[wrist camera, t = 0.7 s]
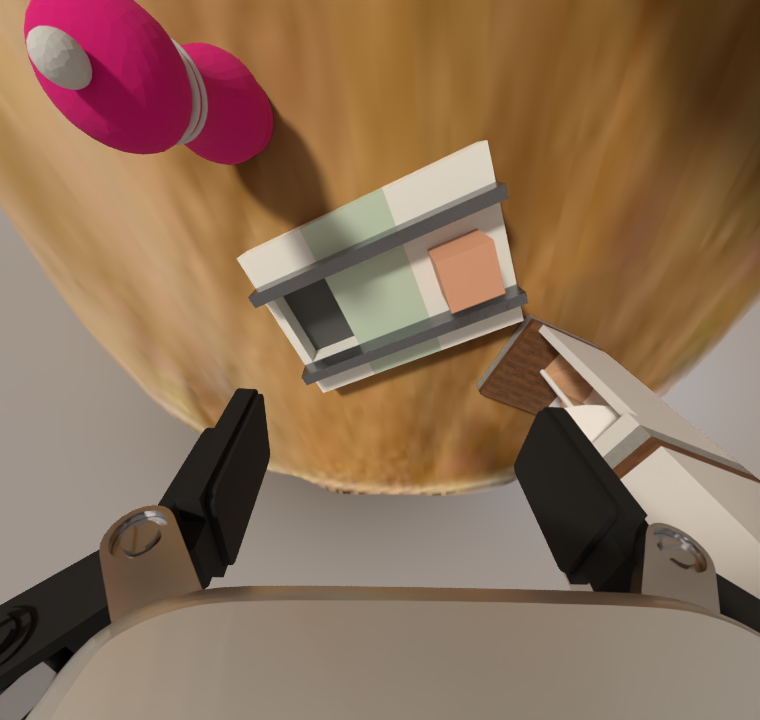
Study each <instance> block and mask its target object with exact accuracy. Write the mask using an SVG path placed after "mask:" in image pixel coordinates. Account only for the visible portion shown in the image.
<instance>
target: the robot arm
mask: <svg viewBox="0 0 760 720" xmlns="http://www.w3.org/2000/svg"><path fill="white" fill-rule="evenodd" d="M269 458H270V447H269V439H268V430H267V422H266V413H265V405H264V397H263V394H258V391H257V390H256V389H242V388H238V389H237V390H236V391H235V393H234V395H233V397H232V398H231V400H230V402H229V404H228V405H227V407H226V409H225V410H224V412H223V414H222V416H221V417H220V419H219V421H218V422H217V424H216V426H215V428H207V429H205V430H204V431H203V433H202V434H201V436H200V438H199V439H198V441H197V442H196V444H195V445H194V447H193V449H192V450H191V452H190V454H189V455H188V457H187V458H186V460H185V462H184V464H183V465H182V467H181V468H180V470H179V472H178V473H177V475H176V477H175V478H174V480H173V481H172V483H171V485H170V486H169V488H168V489H167V491H166V493H165V494H164V496H163V498H162V500H161V501H160V502H159V504H158V505H151V506H145V507H141V508H138V509H136V510H133V511H131V512H129V513H128V514H126V515H124V516H122V517H121V518H120V519H119V520H117V521H116V522H115V523H114V524H113V525H112V526H111V527H110V528H109V529H108V531H107V532H106V533H105V534H104V536H103V538H102V541H101V543H100V549H99V550H98V551H96V552H94V553H92V554H90V555H89V556H87V557H85V558H83V559H82V560H80V561H78V562H77V563H74V564H73V565H71V566H69V567H68V568H66V569H64V570H62V571H60V572H59V573H57V574H55V575H53V576H52V577H50V578H48V579H46V580H44V581H43V582H41V583H39V584H37V585H36V586H34V587H32V588H30V589H28V590H26V591H25V592H23V593H21V594H19V595H18V596H16V597H14V598H12V599H10V600H9V601H7V602H5V603H4V604H2V605H0V720H760V599H759V598H757V597H755V596H754V595H752V594H750V593H749V592H747V591H745V590H744V589H742V588H740V587H739V586H737V585H735V584H734V583H732V582H730V581H729V580H727V579H725V578H724V577H722V576H721V575H719V574H717V573H716V570H715V566H714V563H713V560H712V559H711V557H710V556H709V554H708V553H707V551H706V550H705V549H704V548H703V547H702V546H701V545H700V544H699V543H698V542H697V541H696V540H694V539H693V538H692V537H691V536H689V535H688V534H686V533H685V532H683V531H681V530H680V529H678V528H676V527H673V526H671V525H668V524H664V523H653V524H651V525H649V524H648V523H647V521H646V520H645V518H646V517H647V516H648V515H647V514H646V512H645V511H644V510H643V509H642V507H641V506H640V505H639V503H638V502H637V501H636V500H635V498H634V497H633V496H632V494H631V493H630V492H629V490H628V489H627V488H626V487H625V485H624V484H623V483H622V481H621V480H620V479H619V478H618V476H617V475H616V474H615V472H614V471H613V470H612V469H611V467H610V466H609V465H608V463H607V462H606V461H605V460H604V458H603V457H602V456H601V454H600V453H599V452H598V450H597V449H596V448H595V447H594V445H593V444H592V443H591V441H590V440H589V439H588V438H587V436H586V435H585V434H584V432H583V431H582V430H581V429H580V427H579V426H578V425H577V423H576V422H575V421H574V419H573V418H572V417H571V416H570V414H569V413H568V412H567V410H565V409H564V408H561V407H544V408H543V409H542V411H539V412H538V413H537V415H536V417H535V420H534V422H533V424H532V426H531V428H530V431H529V433H528V435H527V437H526V439H525V442H524V444H523V446H522V448H521V450H520V453H519V455H518V457H517V459H516V462H515V465H514V470H515V474H516V476H517V478H518V480H519V483H520V485H521V487H522V489H523V491H524V493H525V495H526V498H527V500H528V502H529V504H530V506H531V508H532V511H533V513H534V515H535V517H536V520H537V522H538V524H539V526H540V528H541V530H542V533H543V535H544V537H545V539H546V541H547V544H548V546H549V548H550V550H551V552H552V554H553V557H554V559H555V561H556V563H557V566H558V567H559V569H560V570H561V571H562V572H563V573H565V574H566V576H567V579H568V581H569V583H570V584H573V585H588V584H589V583H590V585H591V587H592V589H593V592H592V591H560V590H521V589H476V588H424V587H359V586H357V587H356V586H241V587H223V588H213V589H206V590H204V589H205V588H207V587H208V586H209V584H210V581H211V579H212V577H224V574H225V572H226V569H227V566H228V565H233V564H234V563H235V561H236V558H237V555H238V552H239V549H240V546H241V543H242V540H243V537H244V534H245V531H246V528H247V525H248V522H249V519H250V516H251V513H252V510H253V507H254V504H255V501H256V498H257V495H258V492H259V490H260V486H261V484H262V481H263V478H264V475H265V472H266V469H267V466H268V463H269Z"/></svg>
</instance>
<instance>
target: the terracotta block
mask: <svg viewBox="0 0 760 720" xmlns="http://www.w3.org/2000/svg"><path fill="white" fill-rule="evenodd" d="M427 251H428V254H429V257H430V260H431V263H432V266H433V269H434V272H435V275H436V278H437V281H438V284H439V287H440V290H441V293H442V296H443V298H444V299H445V301H446V303H447V305H448V307H449V309H450V311H451V313H455V312H458V311H460V310H463V309H466V308H468V307H471V306H473V305H476V304H479V303H481V302H484V301H487V300H489V299H492V298H494V297H497V296H500V295H502V294H505V288H504V284H503V279H502V275H501V270H500V266H499V261H498V257H497V252H496V248H495V243H494V240H493V239H492V238H490V237H489V236H487V235H486V234H484V233H483V232H481V231H480V230H478V229H474V230H472V231H470V232H467V233H465V234H463V235H460V236H458V237H456V238H453V239H451V240H448V241H446V242H444V243H441V244H439V245H437V246H434V247H432V248H430V249H427Z"/></svg>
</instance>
